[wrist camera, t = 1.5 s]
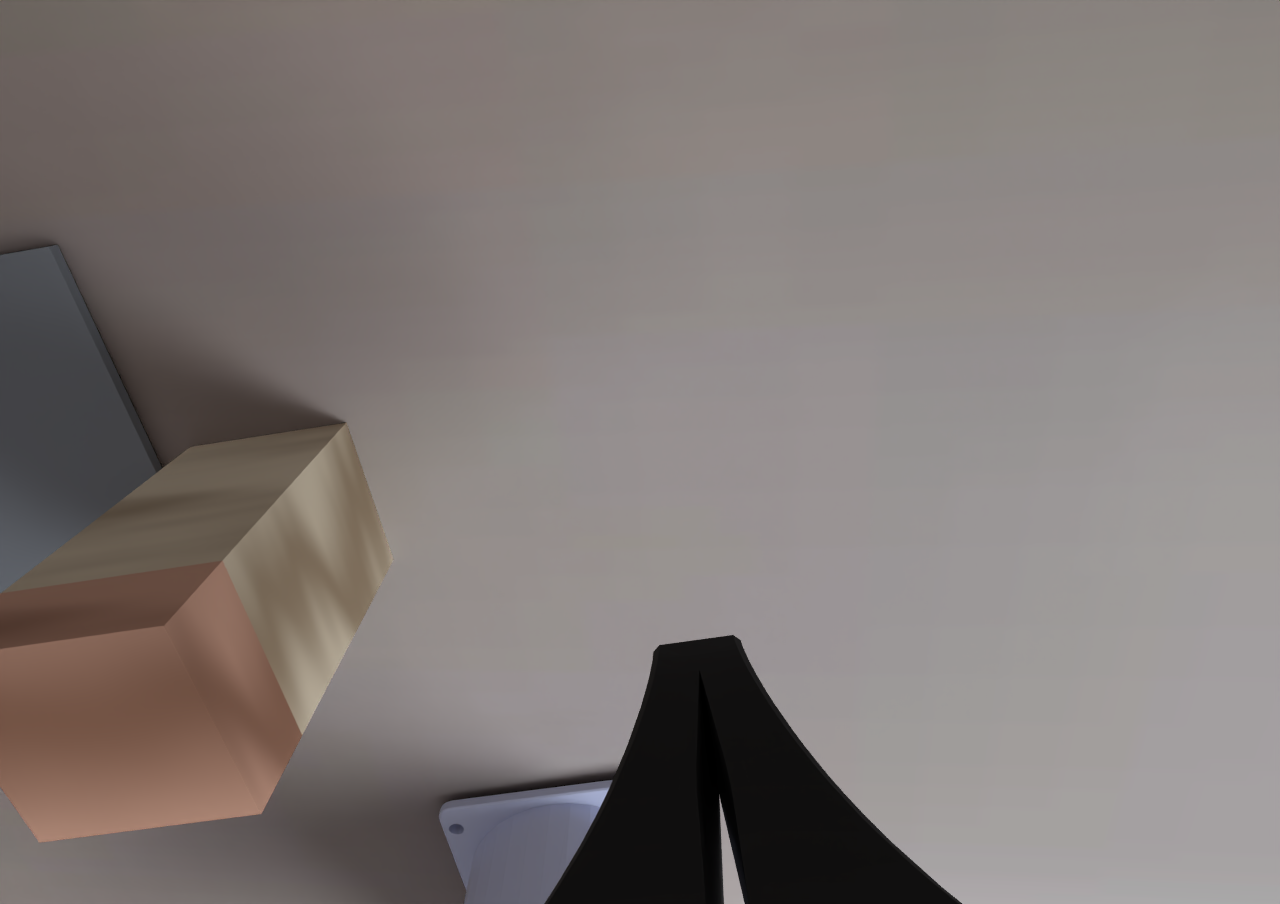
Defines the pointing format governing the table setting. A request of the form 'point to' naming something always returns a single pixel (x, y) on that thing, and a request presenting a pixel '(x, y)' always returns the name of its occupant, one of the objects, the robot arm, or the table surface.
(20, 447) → the mat
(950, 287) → the table surface
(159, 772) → the tall block
